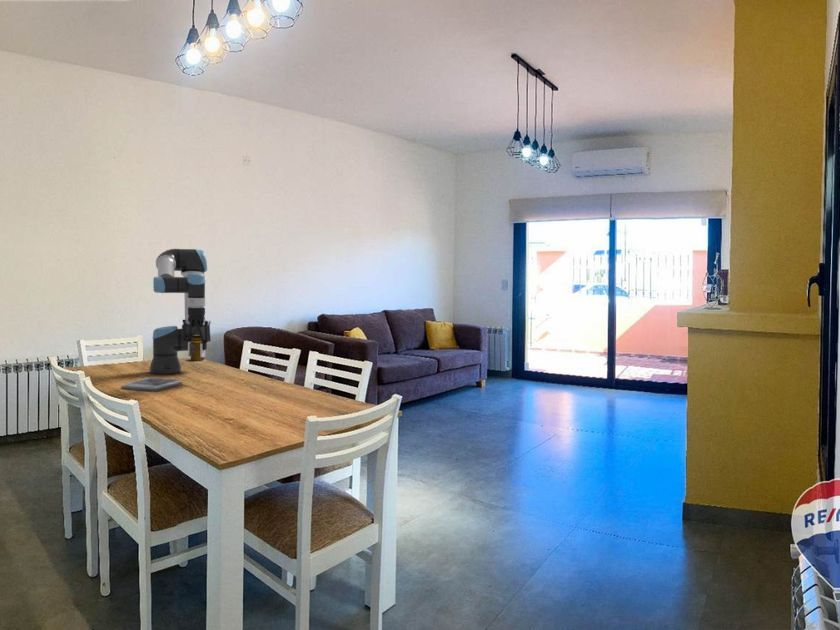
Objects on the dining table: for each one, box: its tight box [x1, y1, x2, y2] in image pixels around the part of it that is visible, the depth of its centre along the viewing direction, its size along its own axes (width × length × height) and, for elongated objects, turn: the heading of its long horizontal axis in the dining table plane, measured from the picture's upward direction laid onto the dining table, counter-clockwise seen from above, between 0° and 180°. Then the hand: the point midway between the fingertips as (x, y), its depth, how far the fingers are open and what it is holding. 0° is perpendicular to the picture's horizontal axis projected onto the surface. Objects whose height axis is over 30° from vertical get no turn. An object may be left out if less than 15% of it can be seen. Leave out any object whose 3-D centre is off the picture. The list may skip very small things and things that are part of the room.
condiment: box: [184, 335, 208, 363], centre depth 284 cm, size 7×8×12 cm
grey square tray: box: [120, 377, 184, 393], centre depth 275 cm, size 18×18×2 cm
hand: (196, 356), depth 284 cm, fingers closed on condiment, 6 cm apart
